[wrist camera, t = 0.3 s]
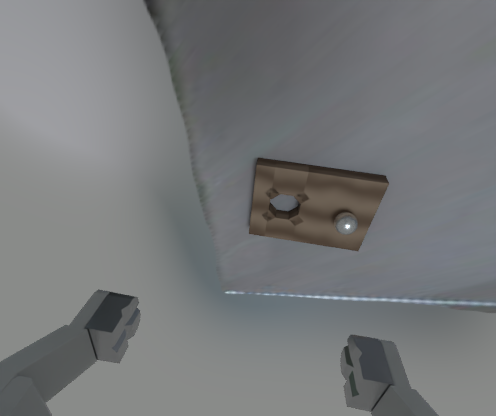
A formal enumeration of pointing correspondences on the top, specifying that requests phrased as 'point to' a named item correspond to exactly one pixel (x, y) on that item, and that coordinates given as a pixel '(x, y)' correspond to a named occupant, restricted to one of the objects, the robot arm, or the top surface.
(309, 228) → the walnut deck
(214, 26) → the top surface
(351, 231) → the steel ball
